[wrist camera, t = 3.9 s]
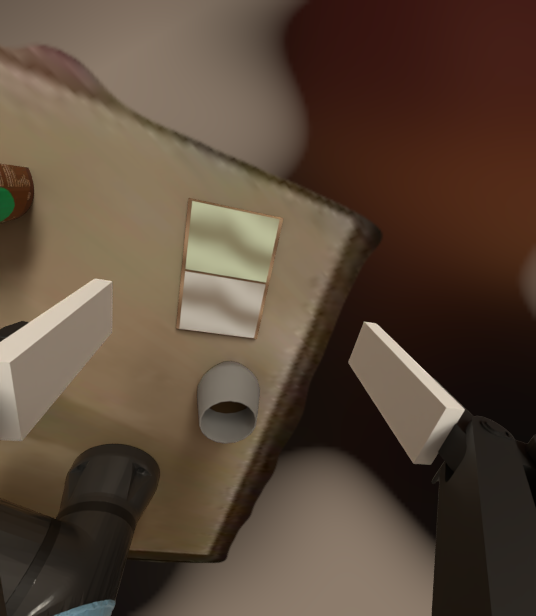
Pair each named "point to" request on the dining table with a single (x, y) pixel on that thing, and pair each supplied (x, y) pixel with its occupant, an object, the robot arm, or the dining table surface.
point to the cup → (228, 402)
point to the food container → (15, 191)
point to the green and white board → (226, 268)
